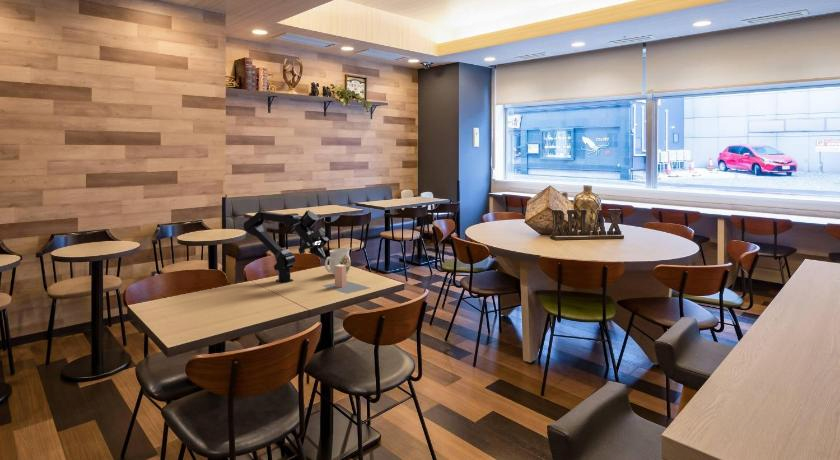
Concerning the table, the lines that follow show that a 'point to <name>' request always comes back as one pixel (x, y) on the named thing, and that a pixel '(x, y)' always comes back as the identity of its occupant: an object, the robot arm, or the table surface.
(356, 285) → the mat
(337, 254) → the pitcher
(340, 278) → the block
